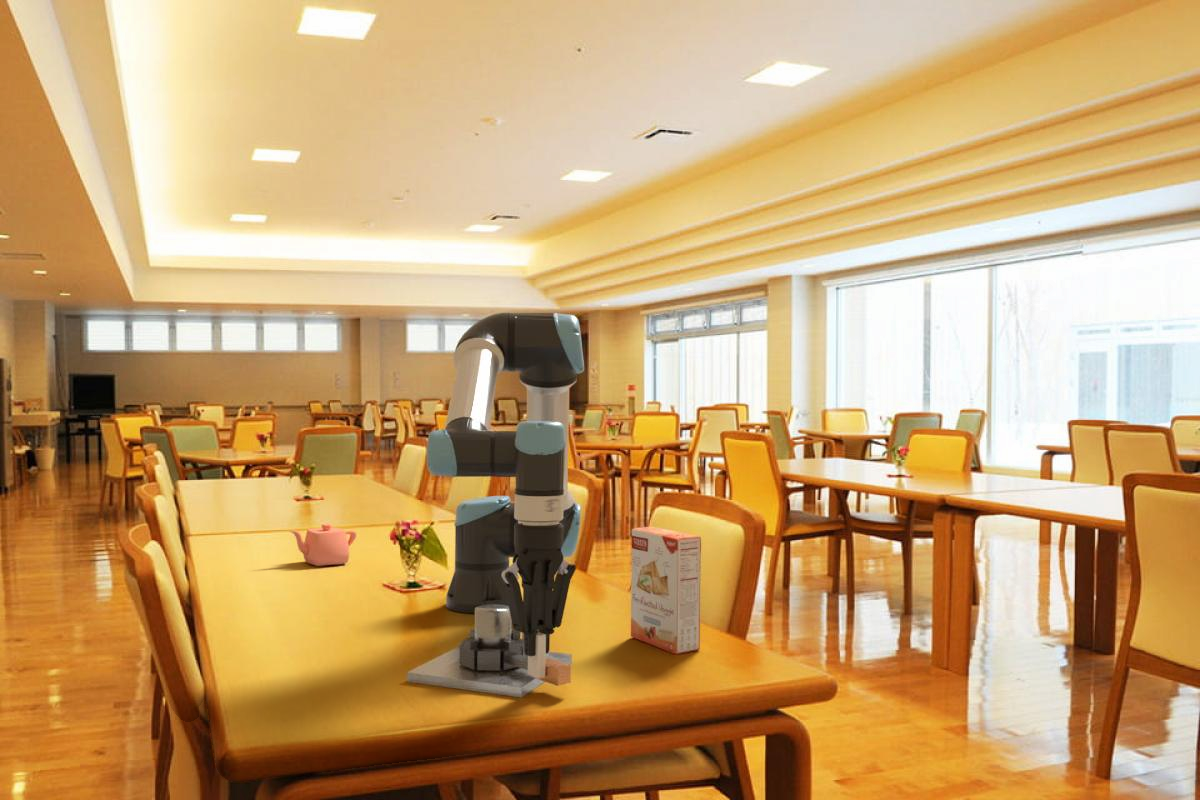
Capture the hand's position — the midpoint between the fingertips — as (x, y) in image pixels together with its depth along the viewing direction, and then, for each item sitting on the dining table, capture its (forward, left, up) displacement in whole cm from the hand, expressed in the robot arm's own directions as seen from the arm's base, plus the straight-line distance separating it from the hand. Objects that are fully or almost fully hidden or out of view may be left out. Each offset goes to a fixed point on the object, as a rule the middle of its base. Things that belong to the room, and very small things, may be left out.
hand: (536, 675), depth 147 cm
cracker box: (+10, +36, -3) cm, 37 cm away
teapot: (-96, +77, -3) cm, 123 cm away
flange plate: (-11, +8, -3) cm, 14 cm away
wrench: (-6, +5, -1) cm, 8 cm away
